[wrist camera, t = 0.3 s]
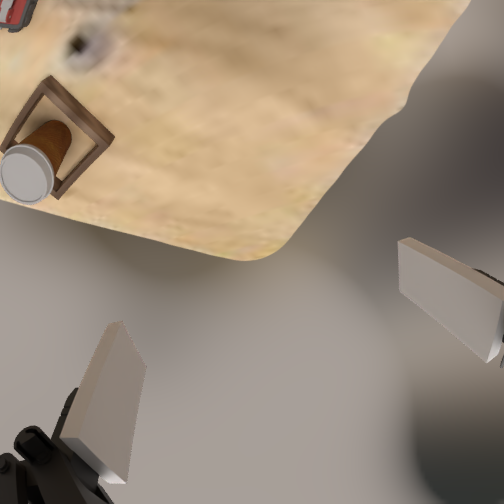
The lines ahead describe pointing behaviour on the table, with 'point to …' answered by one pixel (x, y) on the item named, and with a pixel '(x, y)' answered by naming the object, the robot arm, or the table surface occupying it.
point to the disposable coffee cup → (35, 163)
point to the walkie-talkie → (16, 14)
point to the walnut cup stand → (76, 115)
